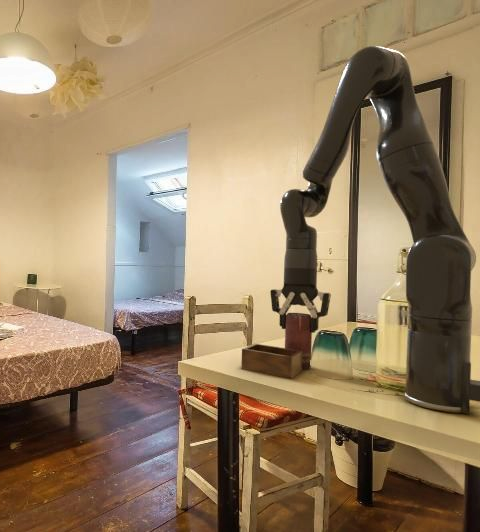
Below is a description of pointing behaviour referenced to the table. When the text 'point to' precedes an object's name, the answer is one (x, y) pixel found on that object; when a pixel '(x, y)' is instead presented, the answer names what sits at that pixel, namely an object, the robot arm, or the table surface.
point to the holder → (272, 360)
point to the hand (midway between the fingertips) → (298, 330)
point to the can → (299, 335)
